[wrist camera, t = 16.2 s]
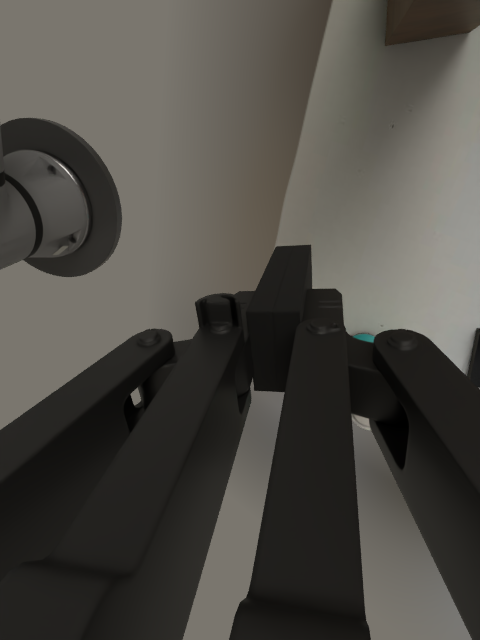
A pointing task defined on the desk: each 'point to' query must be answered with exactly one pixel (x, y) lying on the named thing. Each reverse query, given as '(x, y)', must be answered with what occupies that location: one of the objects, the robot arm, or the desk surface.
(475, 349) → the bracket
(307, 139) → the desk surface
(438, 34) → the button post
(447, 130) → the desk surface
